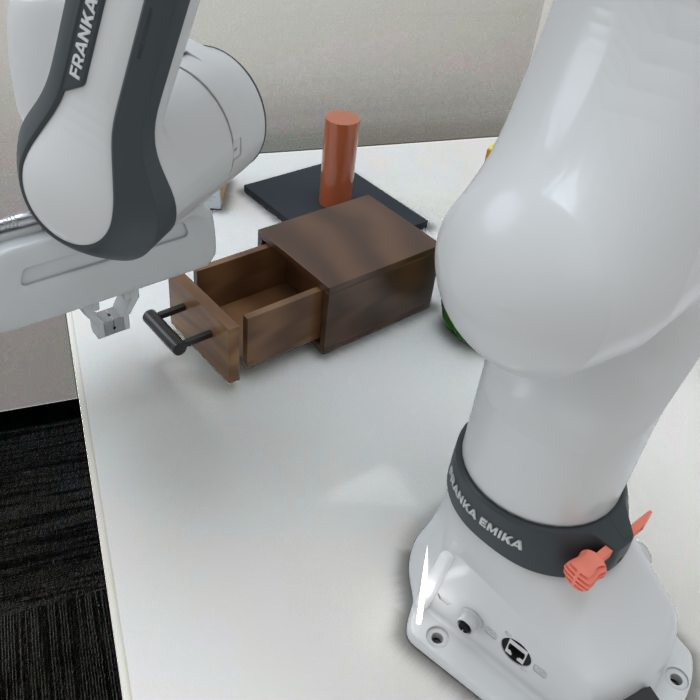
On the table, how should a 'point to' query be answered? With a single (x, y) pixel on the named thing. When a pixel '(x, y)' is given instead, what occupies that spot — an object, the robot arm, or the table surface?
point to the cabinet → (358, 266)
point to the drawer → (241, 310)
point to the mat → (316, 195)
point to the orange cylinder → (338, 157)
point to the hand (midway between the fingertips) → (111, 330)
